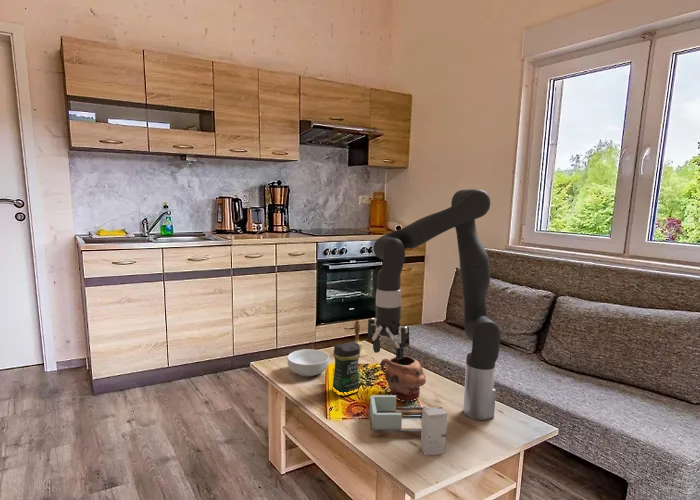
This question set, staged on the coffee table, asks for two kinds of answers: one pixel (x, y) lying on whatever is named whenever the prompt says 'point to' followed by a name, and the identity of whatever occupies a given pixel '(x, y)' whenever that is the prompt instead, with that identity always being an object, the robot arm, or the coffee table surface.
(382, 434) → the board
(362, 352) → the hand bell
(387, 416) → the bracket
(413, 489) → the coffee table surface
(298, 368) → the cereal bowl
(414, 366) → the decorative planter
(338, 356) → the coffee jar
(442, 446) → the skincare box
